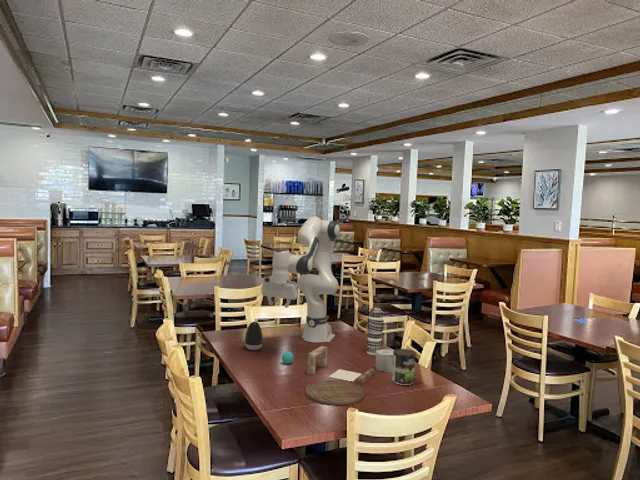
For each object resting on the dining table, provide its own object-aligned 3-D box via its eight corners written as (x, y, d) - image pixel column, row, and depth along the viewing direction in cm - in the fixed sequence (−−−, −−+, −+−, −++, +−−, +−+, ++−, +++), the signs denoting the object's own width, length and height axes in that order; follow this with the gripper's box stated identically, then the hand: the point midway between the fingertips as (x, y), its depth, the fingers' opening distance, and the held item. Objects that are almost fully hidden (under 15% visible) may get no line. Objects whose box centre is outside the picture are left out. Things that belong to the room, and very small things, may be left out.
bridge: (307, 373, 228) (308, 353, 227) (321, 364, 242) (322, 346, 241) (313, 374, 227) (313, 354, 226) (326, 366, 240) (327, 347, 240)
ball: (285, 360, 246) (285, 349, 245) (295, 362, 243) (295, 351, 243) (279, 364, 240) (279, 352, 240) (289, 366, 238) (289, 354, 237)
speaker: (240, 350, 261) (241, 322, 260) (250, 345, 271) (251, 318, 270) (256, 352, 257) (257, 325, 256) (266, 347, 267) (267, 321, 266)
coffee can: (418, 384, 220) (420, 354, 219) (400, 387, 215) (402, 356, 214) (405, 376, 229) (406, 347, 228) (387, 379, 224) (388, 350, 224)
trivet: (373, 404, 196) (373, 399, 196) (314, 409, 189) (314, 404, 189) (352, 382, 220) (352, 378, 220) (299, 386, 213) (299, 381, 213)
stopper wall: (370, 373, 232) (370, 368, 231) (373, 374, 231) (374, 369, 231) (355, 385, 216) (356, 379, 215) (360, 386, 215) (360, 380, 214)
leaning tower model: (364, 354, 262) (366, 309, 260) (367, 349, 271) (369, 305, 269) (381, 356, 260) (383, 310, 258) (383, 351, 269) (385, 307, 267)
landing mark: (339, 369, 236) (339, 369, 236) (361, 374, 230) (362, 373, 230) (328, 376, 225) (328, 376, 225) (352, 381, 220) (352, 381, 219)
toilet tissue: (400, 374, 232) (401, 357, 231) (373, 370, 236) (374, 353, 236) (403, 368, 240) (404, 352, 240) (377, 365, 245) (378, 348, 244)
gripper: (300, 281, 246) (299, 307, 246) (267, 277, 255) (265, 303, 256) (294, 282, 240) (293, 309, 241) (260, 278, 249) (259, 304, 250)
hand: (278, 306), depth 248 cm, fingers open, 8 cm apart
